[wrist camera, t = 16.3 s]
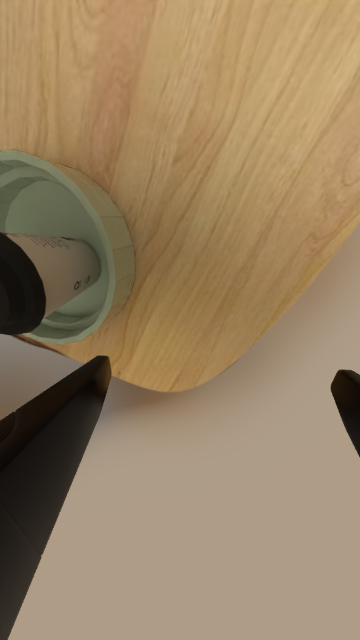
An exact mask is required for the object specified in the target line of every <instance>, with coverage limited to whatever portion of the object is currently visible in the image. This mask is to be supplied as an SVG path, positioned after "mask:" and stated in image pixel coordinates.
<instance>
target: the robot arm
mask: <svg viewBox="0 0 360 640" xmlns="http://www.w3.org/2000/svg"><path fill="white" fill-rule="evenodd" d="M110 379H111V366H110V360H109V357H108V356H96V357H95V358H93V359H92V360H90V361H89V362H87V363H86V364H84V365H83V366H82V367H80V368H79V369H77V370H75V371H74V372H72V373H71V374H70V375H68V376H67V377H65V378H63V379H62V380H61V381H59V382H57V383H56V384H54V385H53V386H51V387H50V388H49V389H47V390H46V391H44V392H43V393H41V394H40V395H38V396H36V397H35V398H34V399H32V400H30V401H29V402H28V403H26V404H24V405H23V406H21V407H20V408H18V409H17V410H16V411H15V412H12V413H11V414H9V415H8V416H7V417H5V418H4V419H2V420H1V421H0V640H8V637H9V635H10V633H11V630H12V628H13V625H14V623H15V620H16V618H17V615H18V613H19V611H20V608H21V606H22V603H23V601H24V598H25V596H26V594H27V591H28V588H29V586H30V584H31V582H32V579H33V577H34V574H35V572H36V569H37V567H38V564H39V562H40V560H41V555H42V554H43V552H44V549H45V547H46V545H47V542H48V540H49V537H50V535H51V533H52V530H53V528H54V525H55V523H56V520H57V518H58V515H59V512H60V511H61V508H62V506H63V503H64V501H65V498H66V496H67V493H68V491H69V489H70V486H71V484H72V481H73V479H74V476H75V474H76V472H77V469H78V467H79V464H80V462H81V460H82V457H83V455H84V452H85V450H86V447H87V445H88V442H89V440H90V438H91V435H92V433H93V430H94V428H95V426H96V423H97V421H98V418H99V415H100V413H101V410H102V407H103V403H104V400H105V396H106V393H107V389H108V386H109V382H110ZM331 392H332V395H333V397H334V400H335V403H336V405H337V408H338V410H339V413H340V416H341V418H342V421H343V424H344V426H345V428H346V431H347V433H348V435H349V437H350V439H351V441H352V443H353V445H354V446H355V449H356V451H357V453H358V455H359V457H360V375H359V374H357V373H355V372H354V371H352V370H339V371H338V372H337V373H336V376H335V378H334V380H333V382H332V384H331Z"/></svg>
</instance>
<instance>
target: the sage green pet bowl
mask: <svg viewBox="0 0 360 640" xmlns="http://www.w3.org/2000/svg"><path fill="white" fill-rule="evenodd" d="M0 232H6V233H18V234H31V235H43V236H55V237H67V238H79V239H82V240H85V241H87V242H88V243H89V244H91V245H92V246H93V247H94V248H95V250H96V251H97V253H98V255H99V257H100V260H101V266H102V270H101V275H100V277H99V279H98V281H97V282H95V283H94V284H93V285H91V286H90V287H88V288H87V289H86V290H84V291H83V292H81V293H80V294H78V295H77V296H76V297H74V298H73V299H71V300H70V301H69V302H67V303H66V304H64V305H63V306H61V307H60V308H59V309H57V310H56V311H54V312H53V313H51V314H50V315H49V316H47V317H46V318H44V319H43V320H42V321H41V323H40V325H39V326H38V327H37V328H35V329H34V330H33V331H31V332H29V333H24V334H22V335H25V336H27V337H29V338H32V339H34V340H36V341H39V342H43V343H51V344H58V345H63V344H67V343H72V342H77V341H81V340H83V339H85V338H86V337H88V336H89V335H91V334H92V333H93V332H95V331H96V330H98V329H99V328H100V327H102V326H103V325H104V324H106V323H107V322H108V321H109V320H111V319H112V318H113V317H114V316H116V315H117V314H118V313H119V312H120V311H121V309H122V308H123V306H124V305H125V303H126V302H127V300H128V298H129V297H130V294H131V290H132V286H133V282H134V277H135V272H136V270H135V256H134V246H133V242H132V240H131V237H130V234H129V231H128V228H127V226H126V223H125V220H124V218H123V215H122V214H121V212H120V211H119V210H118V208H117V207H116V205H115V204H114V202H113V201H112V200H111V198H110V197H109V195H108V194H107V192H106V191H105V190H104V189H102V188H101V187H100V186H99V185H97V184H96V183H95V182H94V181H92V180H91V179H90V178H89V177H88V176H86V175H85V174H84V173H83V172H81V171H78V170H76V169H73V168H70V167H67V166H65V165H62V164H59V163H56V162H53V161H50V160H47V159H44V158H41V157H38V156H35V155H32V154H28V153H25V152H22V151H19V150H4V151H0Z"/></svg>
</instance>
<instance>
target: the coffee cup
mask: <svg viewBox="0 0 360 640" xmlns="http://www.w3.org/2000/svg"><path fill="white" fill-rule="evenodd" d="M101 270H102V266H101V260H100V257H99V255H98V253H97V251H96V250H95V248H94V247H93V246H92V245H91V244H89V243H88V242H87V241H85V240H82V239H79V238H67V237H55V236H43V235H31V234H18V233H6V232H0V334H6V335H19V334H24V333H29V332H31V331H33V330H34V329H35V328H37V327H38V326H39V325H40V323H41V321H42V320H43V319H44V318H46V317H47V316H49V315H50V314H51V313H53V312H54V311H56V310H57V309H59V308H60V307H61V306H63V305H64V304H66V303H67V302H69V301H70V300H71V299H73V298H74V297H76V296H77V295H78V294H80V293H81V292H83V291H84V290H86V289H87V288H88V287H90V286H91V285H93V284H94V283H95V282H97V281H98V279H99V277H100V275H101Z"/></svg>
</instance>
